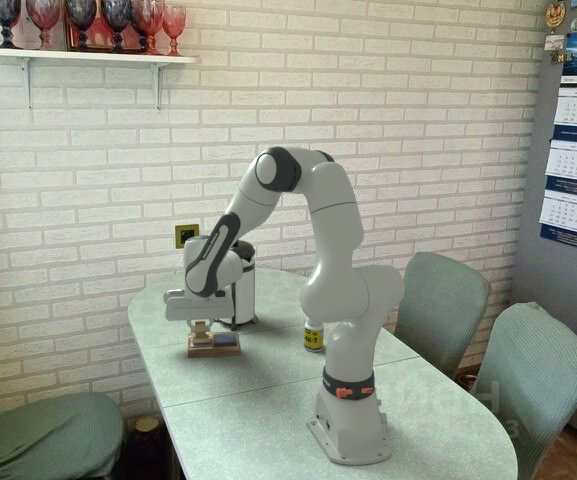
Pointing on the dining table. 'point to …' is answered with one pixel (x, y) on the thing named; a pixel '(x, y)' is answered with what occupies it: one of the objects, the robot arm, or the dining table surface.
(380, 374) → the dining table surface
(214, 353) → the station board
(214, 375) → the dining table surface
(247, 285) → the coffee press
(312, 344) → the supplement bottle
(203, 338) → the stamp
